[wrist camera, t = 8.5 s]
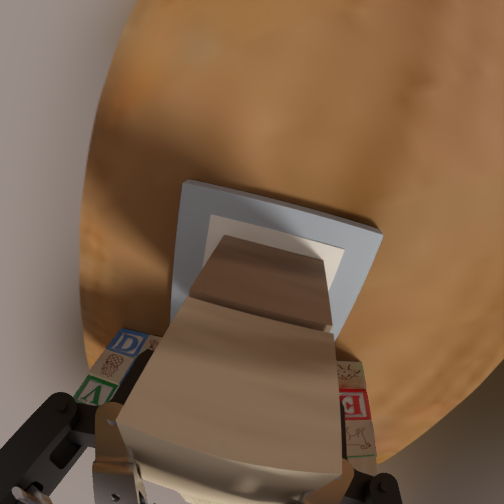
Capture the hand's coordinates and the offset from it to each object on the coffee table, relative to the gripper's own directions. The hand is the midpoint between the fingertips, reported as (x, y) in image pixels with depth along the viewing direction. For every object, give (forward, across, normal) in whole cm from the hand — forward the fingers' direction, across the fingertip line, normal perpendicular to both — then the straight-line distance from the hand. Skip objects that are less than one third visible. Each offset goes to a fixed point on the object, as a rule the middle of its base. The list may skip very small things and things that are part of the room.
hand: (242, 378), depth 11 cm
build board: (+8, 0, 0) cm, 8 cm away
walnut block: (+7, 0, 0) cm, 7 cm away
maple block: (+1, 0, 0) cm, 1 cm away
